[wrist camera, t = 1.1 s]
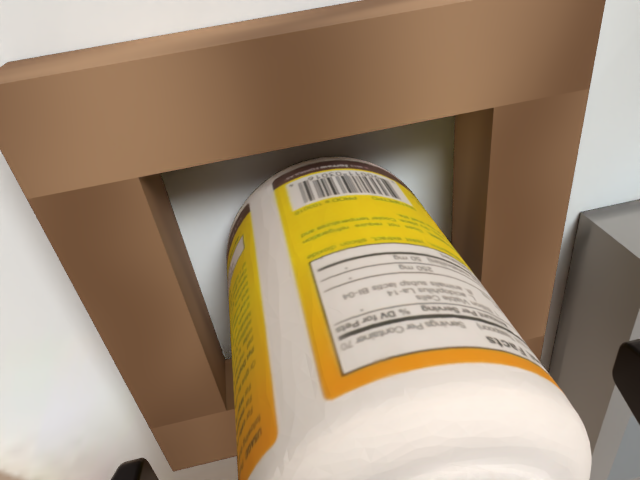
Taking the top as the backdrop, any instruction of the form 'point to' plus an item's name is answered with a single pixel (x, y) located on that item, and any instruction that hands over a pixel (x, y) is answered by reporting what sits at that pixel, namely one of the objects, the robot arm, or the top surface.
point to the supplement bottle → (378, 344)
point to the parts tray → (602, 335)
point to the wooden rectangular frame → (284, 132)
